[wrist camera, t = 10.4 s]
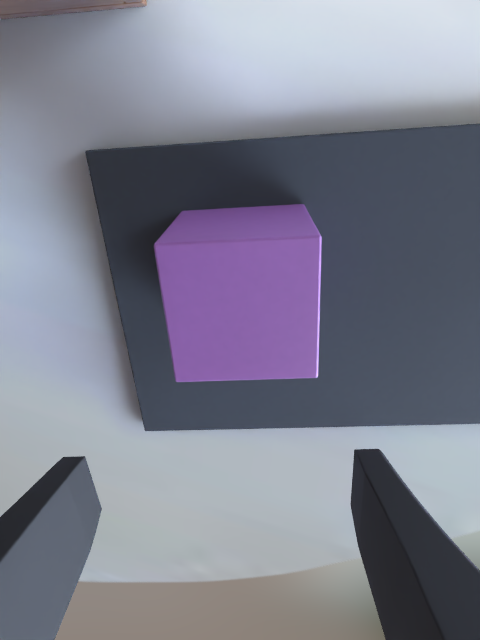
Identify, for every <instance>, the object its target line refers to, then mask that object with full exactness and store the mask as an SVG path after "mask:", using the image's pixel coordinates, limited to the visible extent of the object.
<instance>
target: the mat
mask: <svg viewBox="0 0 480 640" xmlns="http://www.w3.org/2000/svg"><path fill="white" fill-rule="evenodd" d="M85 153H86V158H87V162H88V167H89V172H90V176H91V181H92V186H93V190H94V195H95V200H96V204H97V209H98V214H99V218H100V223H101V228H102V232H103V237H104V242H105V246H106V251H107V256H108V260H109V265H110V270H111V274H112V279H113V284H114V288H115V293H116V298H117V302H118V307H119V312H120V316H121V321H122V326H123V330H124V335H125V340H126V344H127V349H128V354H129V358H130V363H131V368H132V372H133V377H134V382H135V386H136V391H137V396H138V400H139V405H140V410H141V414H142V419H143V424H144V428H145V431H168V430H214V429H259V428H305V427H350V426H395V425H441V424H480V124H467V125H452V126H438V127H423V128H408V129H394V130H379V131H364V132H350V133H335V134H320V135H305V136H291V137H276V138H261V139H247V140H232V141H217V142H202V143H188V144H173V145H158V146H144V147H129V148H114V149H99V150H88V151H86V152H85ZM293 204H304V205H305V207H306V209H307V211H308V213H309V215H310V216H311V218H312V220H313V222H314V224H315V226H316V228H317V229H318V231H319V233H320V235H321V237H322V241H321V281H320V321H319V361H318V377H317V378H294V379H261V380H227V381H194V382H176V381H175V376H174V370H173V364H172V357H171V351H170V345H169V339H168V332H167V326H166V320H165V314H164V308H163V301H162V295H161V289H160V283H159V277H158V270H157V264H156V258H155V252H154V244H155V242H156V241H157V240H158V239H159V238H160V236H161V235H162V234H163V233H164V232H165V231H166V229H167V228H168V227H169V226H170V225H171V223H172V222H173V221H174V220H175V219H176V217H177V216H178V215H179V214H180V213H181V212H182V211H188V210H206V209H223V208H240V207H258V206H275V205H293Z"/></svg>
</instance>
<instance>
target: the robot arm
mask: <svg viewBox="0 0 480 640" xmlns="http://www.w3.org/2000/svg"><path fill="white" fill-rule="evenodd" d="M351 509H352V515H353V521H354V526H355V531H356V537H357V542H358V547H359V550H360V554H361V557H362V560H363V564H364V567H365V570H366V574H367V578H368V581H369V584H370V588H371V591H372V595H373V598H374V601H375V605H376V608H377V611H378V615H379V618H380V622H381V625H382V629H383V632H384V635H385V639H386V640H480V570H479V569H478V568H477V567H476V566H475V565H474V564H473V563H472V562H471V561H470V560H469V558H468V557H467V556H466V555H465V554H464V553H463V552H462V551H461V550H460V549H459V547H458V546H457V545H456V544H455V543H454V542H453V541H452V540H451V539H450V538H449V536H448V535H447V534H446V533H445V532H444V531H443V530H442V528H441V527H440V526H439V525H438V524H437V522H436V521H435V520H434V519H433V518H432V516H431V515H430V514H429V513H428V512H427V510H426V509H425V508H424V507H423V506H422V505H421V503H420V502H419V501H418V500H417V498H416V497H415V496H414V495H413V493H412V492H411V491H410V489H409V488H408V487H407V485H406V484H405V483H404V482H403V480H402V479H401V478H400V476H399V475H398V474H397V472H396V471H395V469H394V468H393V467H392V465H391V464H390V463H389V461H388V460H387V458H386V457H385V455H384V454H383V453H382V452H381V451H380V450H379V449H360V450H354V464H353V479H352V493H351ZM101 510H102V508H101V505H100V502H99V499H98V496H97V493H96V490H95V486H94V483H93V480H92V477H91V474H90V471H89V468H88V465H87V461H86V458H85V456H83V457H63V458H62V459H61V460H60V461H58V462H57V463H56V464H55V465H54V466H53V467H52V468H51V469H50V470H49V471H48V472H47V473H46V474H45V475H44V476H43V477H42V478H41V479H40V480H39V481H38V482H37V483H35V484H34V485H33V486H32V487H31V488H30V489H29V490H28V491H27V492H26V493H25V494H24V495H23V496H22V497H21V498H20V499H19V500H18V501H17V502H16V503H15V504H14V505H13V506H12V507H10V508H9V509H8V510H7V511H6V512H5V513H4V514H3V515H2V516H1V517H0V640H54V639H55V637H56V635H57V632H58V630H59V627H60V625H61V622H62V619H63V617H64V615H65V612H66V610H67V607H68V605H69V602H70V600H71V597H72V595H73V592H74V590H75V587H76V585H77V583H78V580H79V578H80V575H81V573H82V570H83V567H84V565H85V562H86V560H87V557H88V555H89V552H90V550H91V546H92V543H93V539H94V536H95V533H96V529H97V525H98V521H99V517H100V513H101Z"/></svg>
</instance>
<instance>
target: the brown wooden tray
mask: <svg viewBox="0 0 480 640" xmlns="http://www.w3.org/2000/svg"><path fill="white" fill-rule="evenodd" d="M146 5H147V1H146V0H0V19H11V18H22V17H33V16H44V15H55V14H66V13H77V12H88V11H99V10H110V9H121V8H132V7H143V6H146Z"/></svg>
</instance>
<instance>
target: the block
mask: <svg viewBox="0 0 480 640" xmlns="http://www.w3.org/2000/svg"><path fill="white" fill-rule="evenodd" d="M321 241H322V237H321V235H320V233H319V231H318V229H317V228H316V226H315V224H314V222H313V220H312V218H311V216H310V215H309V213H308V211H307V209H306V207H305V205H304V204H293V205H275V206H258V207H240V208H223V209H206V210H188V211H182V212H181V213H180V214H179V215H178V216H177V217H176V219H175V220H174V221H173V222H172V223H171V225H170V226H169V227H168V228H167V229H166V231H165V232H164V233H163V234H162V235H161V236H160V238H159V239H158V240H157V241H156V242H155V244H154V252H155V258H156V264H157V270H158V277H159V283H160V289H161V295H162V301H163V308H164V314H165V320H166V326H167V332H168V339H169V345H170V351H171V357H172V364H173V370H174V376H175V381H176V382H194V381H227V380H261V379H294V378H317V377H318V361H319V321H320V281H321Z"/></svg>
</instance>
